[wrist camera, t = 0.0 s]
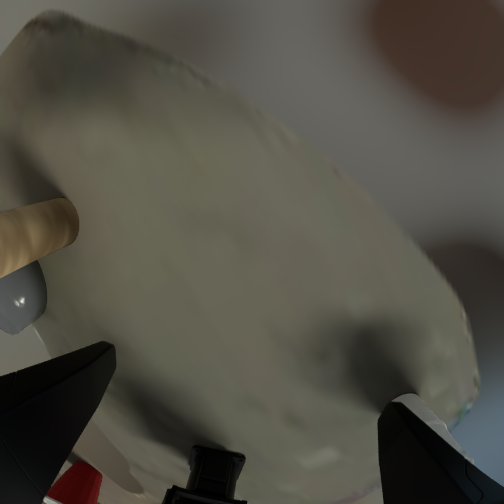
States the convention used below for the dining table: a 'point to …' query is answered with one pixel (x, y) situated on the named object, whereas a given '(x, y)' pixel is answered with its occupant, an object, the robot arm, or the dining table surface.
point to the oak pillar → (35, 232)
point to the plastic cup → (76, 486)
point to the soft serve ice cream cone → (430, 419)
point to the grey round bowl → (22, 298)
